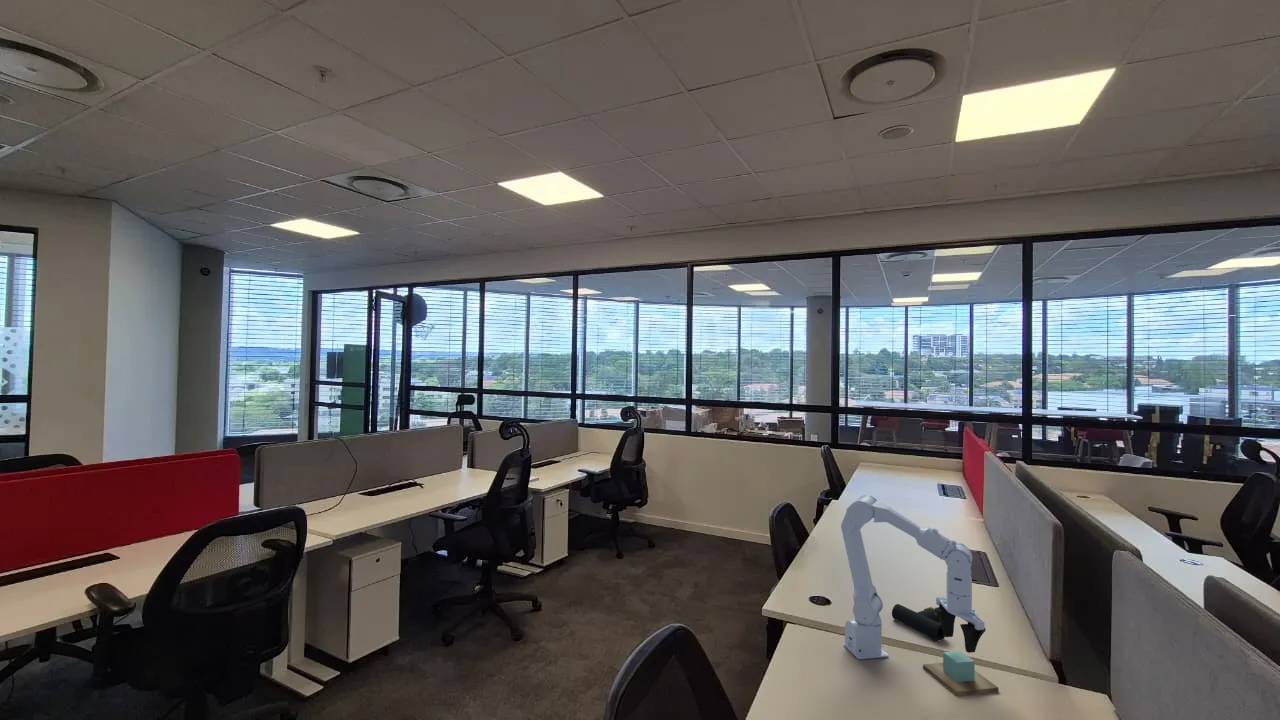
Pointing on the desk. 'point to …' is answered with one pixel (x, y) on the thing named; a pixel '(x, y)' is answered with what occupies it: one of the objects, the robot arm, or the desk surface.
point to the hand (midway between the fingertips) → (959, 643)
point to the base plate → (960, 687)
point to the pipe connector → (920, 620)
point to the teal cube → (959, 666)
